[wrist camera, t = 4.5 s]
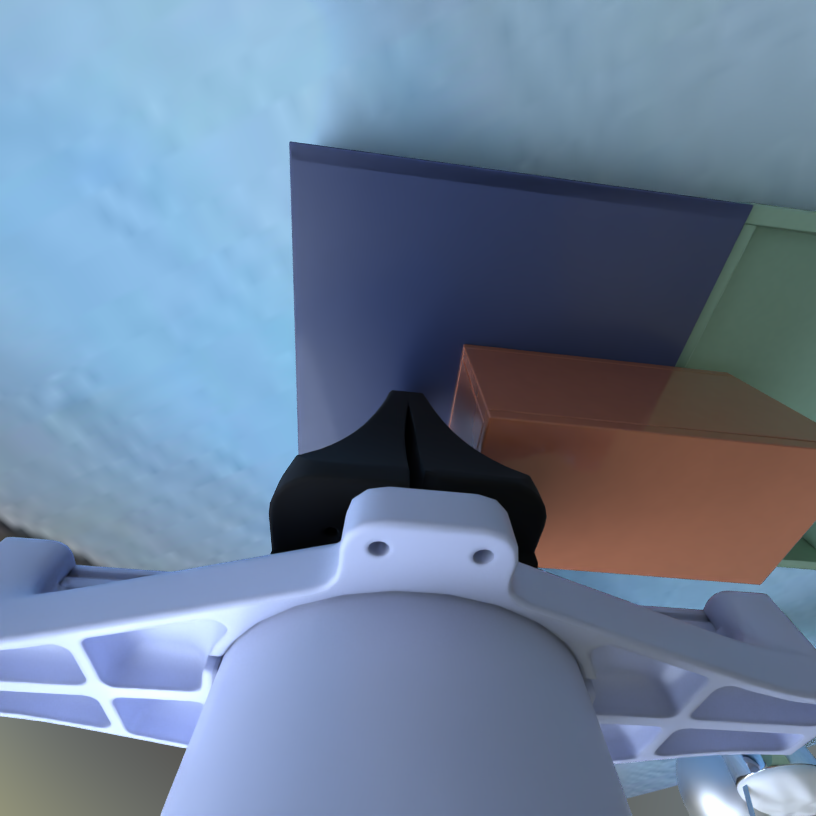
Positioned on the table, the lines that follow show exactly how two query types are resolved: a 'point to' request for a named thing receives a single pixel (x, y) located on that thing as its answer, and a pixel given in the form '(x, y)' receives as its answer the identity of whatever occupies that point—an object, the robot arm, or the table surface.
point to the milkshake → (775, 782)
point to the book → (480, 275)
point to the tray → (766, 321)
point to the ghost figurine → (709, 788)
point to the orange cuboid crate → (644, 462)
